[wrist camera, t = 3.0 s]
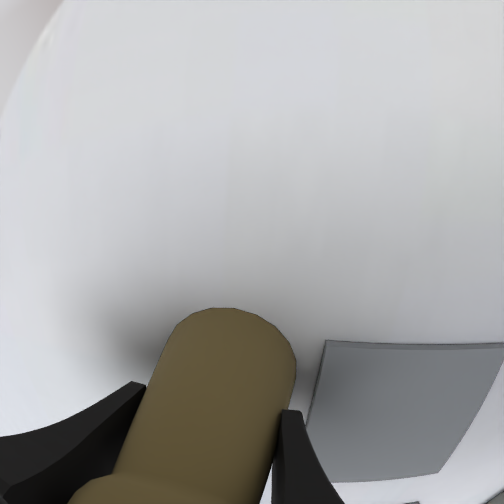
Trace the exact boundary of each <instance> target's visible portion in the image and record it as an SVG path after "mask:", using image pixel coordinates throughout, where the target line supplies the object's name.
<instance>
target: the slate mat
mask: <svg viewBox="0 0 504 504" xmlns="http://www.w3.org/2000/svg"><path fill="white" fill-rule="evenodd" d="M503 360H504V343H493V344H461V345H415V344H381V343H361V342H344V341H330V340H326V342H325V347H324V352H323V356H322V361H321V366H320V370H319V375H318V379H317V383H316V388H315V392H314V396H313V400H312V404H311V408H310V412H309V416H308V419H307V423H306V431H307V433H308V436H309V439H310V442H311V444H312V447H313V449H314V451H315V453H316V456H317V458H318V460H319V462H320V464H321V466H322V468H323V470H324V472H325V474H326V476H327V477H328V479H329V481H330V483H339V482H368V481H382V480H392V479H401V478H409V477H417V476H423V475H429V474H435V473H438V472H439V471H440V470H441V468H442V467H443V466H444V464H445V463H446V462H447V460H448V459H449V457H450V456H451V454H452V453H453V452H454V450H455V449H456V447H457V446H458V444H459V443H460V441H461V439H462V438H463V436H464V435H465V433H466V431H467V430H468V428H469V427H470V425H471V423H472V422H473V420H474V418H475V416H476V415H477V413H478V411H479V409H480V407H481V406H482V404H483V402H484V400H485V398H486V396H487V394H488V392H489V390H490V388H491V386H492V384H493V382H494V380H495V378H496V376H497V374H498V372H499V369H500V367H501V365H502V363H503Z"/></svg>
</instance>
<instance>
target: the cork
mask: <svg viewBox="0 0 504 504" xmlns="http://www.w3.org/2000/svg"><path fill="white" fill-rule="evenodd" d="M295 379H296V359H295V356H294V354H293V351H292V348H291V346H290V343H289V342H288V341H287V340H286V338H285V337H284V336H283V335H282V334H281V333H280V331H279V330H278V329H277V328H276V327H275V326H273V325H272V324H270V323H268V322H267V321H265V320H264V319H262V318H261V317H259V316H257V315H255V314H252V313H248V312H245V311H242V310H238V309H235V308H210V309H206V310H203V311H200V312H196V313H193V314H191V315H190V316H188V317H187V318H185V319H184V320H183V321H181V322H180V323H179V324H177V326H176V327H175V329H174V331H173V332H172V334H171V335H170V337H169V339H168V341H167V343H166V345H165V348H164V350H163V352H162V354H161V356H160V359H159V361H158V363H157V365H156V368H155V370H154V372H153V375H152V377H151V379H150V381H149V384H148V386H147V388H146V391H145V393H144V395H143V398H142V400H141V402H140V405H139V407H138V409H137V412H136V414H135V417H134V419H133V421H132V424H131V426H130V429H129V431H128V433H127V436H126V438H125V441H124V443H123V446H122V448H121V451H120V453H119V456H118V458H117V461H116V463H115V466H114V468H113V471H112V473H111V475H107V476H104V477H100V478H96V479H92V480H90V481H89V482H87V483H86V484H85V485H84V486H82V487H81V488H80V489H78V490H77V491H76V492H75V493H74V495H73V496H72V497H71V499H70V500H69V502H68V503H67V504H259V503H260V500H261V497H262V494H263V491H264V488H265V485H266V482H267V479H268V476H269V473H270V469H271V466H272V463H273V460H274V456H275V453H276V448H277V441H278V435H279V428H280V420H281V412H282V409H286V410H288V406H289V402H290V399H291V395H292V391H293V387H294V383H295Z"/></svg>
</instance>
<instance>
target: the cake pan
mask: <svg viewBox="0 0 504 504" xmlns="http://www.w3.org/2000/svg"><path fill="white" fill-rule="evenodd" d="M486 504H504V492H502V493H501V494H499V495H498V496H496V497H495V498H494V499H492V500H491V501H489V502H488V503H486Z"/></svg>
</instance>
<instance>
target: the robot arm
mask: <svg viewBox="0 0 504 504" xmlns="http://www.w3.org/2000/svg"><path fill="white" fill-rule="evenodd" d="M145 391H146V385H144V384H140V383H137V382H133V381H131V382H129V383H128V384H126V385H125V386H123V387H121V388H120V389H118V390H117V391H115V392H114V393H112V394H110V395H109V396H107V397H106V398H104V399H102V400H101V401H99V402H97V403H95V404H94V405H92V406H90V407H89V408H87V409H85V410H83V411H81V412H79V413H77V414H75V415H73V416H71V417H69V418H67V419H65V420H62V421H60V422H58V423H55V424H52V425H50V426H47V427H44V428H41V429H37V430H33V431H30V432H26V433H22V434H16V435H11V436H3V437H0V504H67V503H68V502H69V500H70V499H71V497H72V496H73V495H74V493H75V492H76V491H77V490H78V489H80V488H81V487H82V486H84V485H85V484H86V483H87V482H89V481H90V480H92V479H96V478H100V477H104V476H107V475H111V473H112V471H113V468H114V466H115V463H116V461H117V458H118V456H119V453H120V451H121V448H122V446H123V443H124V441H125V438H126V436H127V433H128V431H129V429H130V426H131V424H132V421H133V419H134V417H135V414H136V412H137V409H138V407H139V405H140V402H141V400H142V398H143V395H144V393H145ZM271 504H345V503H344V502H343V501H342V499H341V498H340V496H339V495H338V493H337V492H336V490H335V489H334V487H333V486H332V484H331V483H330V481H329V479H328V477H327V476H326V474H325V472H324V470H323V468H322V466H321V464H320V462H319V460H318V458H317V456H316V453H315V451H314V449H313V447H312V444H311V442H310V439H309V436H308V433H307V431H306V427H305V424H304V420H303V416H302V413H301V412H300V411H298V410H286V409H282V412H281V420H280V428H279V435H278V441H277V448H276V453H275V456H274V460H273V465H272V497H271Z"/></svg>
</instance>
